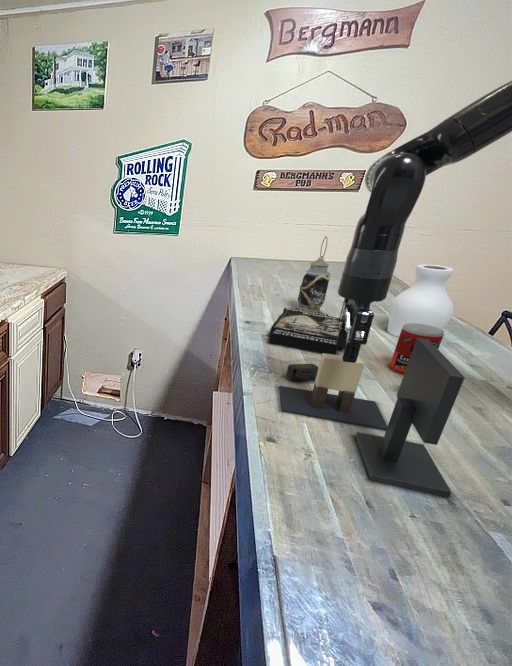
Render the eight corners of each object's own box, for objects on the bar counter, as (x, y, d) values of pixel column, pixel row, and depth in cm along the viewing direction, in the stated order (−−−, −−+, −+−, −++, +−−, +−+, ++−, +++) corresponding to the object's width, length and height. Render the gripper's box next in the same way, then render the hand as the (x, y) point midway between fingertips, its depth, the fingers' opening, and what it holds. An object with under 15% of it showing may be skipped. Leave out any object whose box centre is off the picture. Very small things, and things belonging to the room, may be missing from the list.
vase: (374, 324, 143) (394, 260, 135) (428, 328, 140) (452, 263, 132) (394, 340, 131) (417, 271, 123) (453, 345, 127) (481, 274, 119)
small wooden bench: (346, 404, 95) (361, 356, 91) (350, 413, 92) (365, 365, 87) (309, 397, 98) (322, 351, 94) (311, 406, 94) (324, 359, 90)
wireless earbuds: (320, 380, 107) (323, 368, 105) (291, 382, 106) (294, 369, 105) (307, 372, 111) (310, 360, 110) (279, 373, 110) (282, 361, 109)
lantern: (323, 315, 152) (343, 239, 142) (296, 313, 154) (314, 237, 145) (318, 308, 159) (337, 235, 149) (292, 306, 162) (309, 234, 152)
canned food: (389, 372, 111) (403, 330, 106) (388, 361, 117) (402, 321, 112) (429, 380, 107) (446, 336, 102) (426, 369, 113) (442, 326, 108)
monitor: (419, 447, 82) (461, 343, 74) (451, 502, 68) (505, 382, 60) (354, 434, 86) (386, 334, 78) (371, 484, 72) (412, 369, 64)
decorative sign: (264, 331, 128) (285, 307, 150) (262, 342, 129) (283, 316, 151) (352, 348, 117) (360, 318, 139) (349, 359, 118) (357, 328, 140)
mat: (374, 403, 97) (374, 401, 96) (387, 431, 87) (388, 428, 86) (279, 387, 103) (279, 385, 103) (281, 411, 93) (282, 409, 93)
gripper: (402, 282, 76) (375, 370, 83) (383, 266, 88) (360, 344, 95) (349, 278, 79) (327, 364, 86) (338, 263, 91) (319, 339, 98)
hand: (345, 353), depth 90 cm, fingers open, 8 cm apart
